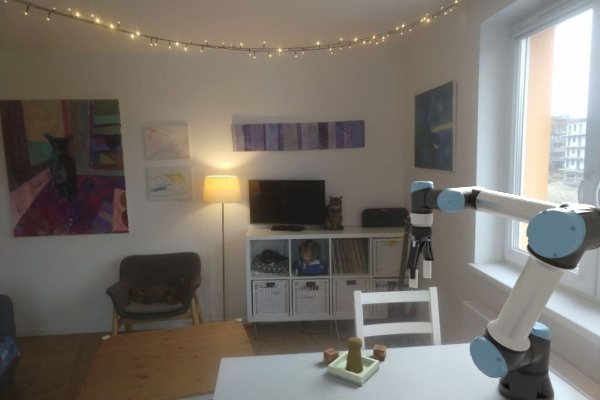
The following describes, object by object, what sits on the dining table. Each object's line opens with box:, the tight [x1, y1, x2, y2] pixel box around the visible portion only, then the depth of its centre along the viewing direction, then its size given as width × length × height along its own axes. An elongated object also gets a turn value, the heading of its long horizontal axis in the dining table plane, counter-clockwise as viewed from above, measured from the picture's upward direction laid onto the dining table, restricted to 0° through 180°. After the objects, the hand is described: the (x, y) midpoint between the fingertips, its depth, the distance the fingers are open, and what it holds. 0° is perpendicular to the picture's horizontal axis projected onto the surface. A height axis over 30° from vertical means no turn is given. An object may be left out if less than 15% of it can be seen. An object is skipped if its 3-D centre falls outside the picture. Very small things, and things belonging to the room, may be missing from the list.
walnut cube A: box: [372, 344, 387, 362], centre depth 150 cm, size 4×4×4 cm
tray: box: [327, 350, 380, 387], centre depth 141 cm, size 13×13×3 cm
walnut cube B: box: [323, 347, 340, 366], centre depth 147 cm, size 4×4×4 cm
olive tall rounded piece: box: [346, 336, 363, 374], centre depth 140 cm, size 6×6×11 cm
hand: (420, 282), depth 146 cm, fingers open, 13 cm apart
